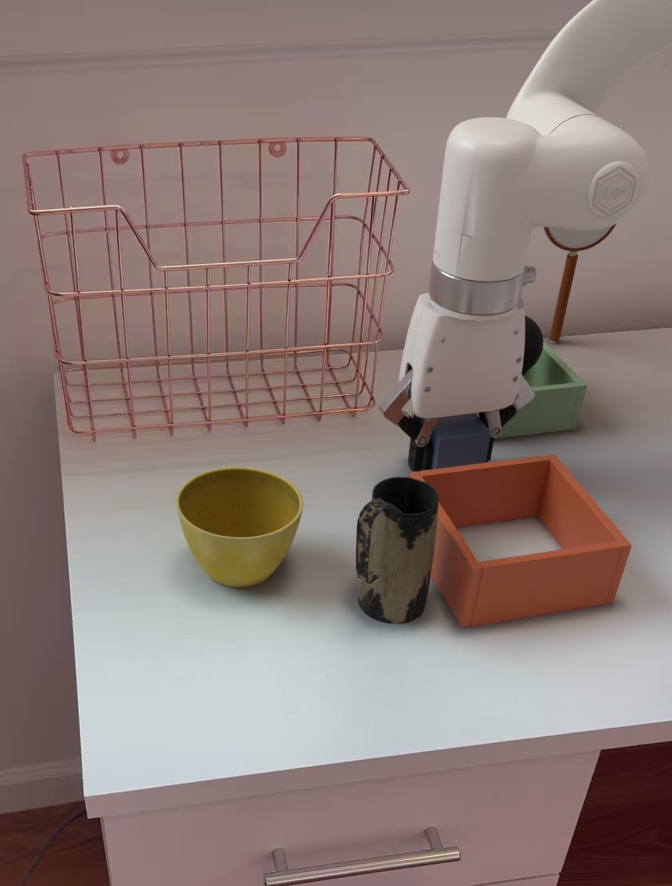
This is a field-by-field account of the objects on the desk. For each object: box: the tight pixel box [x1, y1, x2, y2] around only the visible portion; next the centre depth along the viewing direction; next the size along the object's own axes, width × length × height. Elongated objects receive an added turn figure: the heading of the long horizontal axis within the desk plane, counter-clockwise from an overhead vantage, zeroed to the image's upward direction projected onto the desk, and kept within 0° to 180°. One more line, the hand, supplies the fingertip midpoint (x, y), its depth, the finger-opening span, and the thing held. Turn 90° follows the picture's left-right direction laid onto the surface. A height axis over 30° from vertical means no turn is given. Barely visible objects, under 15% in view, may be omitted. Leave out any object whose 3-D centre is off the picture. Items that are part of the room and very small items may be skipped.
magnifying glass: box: [543, 224, 617, 345], centre depth 114 cm, size 9×2×20 cm, turn 98°
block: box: [429, 413, 491, 470], centre depth 96 cm, size 5×5×6 cm
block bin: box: [409, 453, 632, 629], centre depth 86 cm, size 14×14×7 cm
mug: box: [355, 476, 439, 625], centre depth 79 cm, size 8×6×12 cm
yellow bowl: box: [175, 466, 304, 588], centre depth 84 cm, size 10×10×7 cm
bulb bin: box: [476, 340, 587, 440], centre depth 107 cm, size 12×12×6 cm
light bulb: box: [522, 315, 544, 377], centre depth 105 cm, size 6×6×10 cm
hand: (447, 469), depth 97 cm, fingers closed on block, 5 cm apart
